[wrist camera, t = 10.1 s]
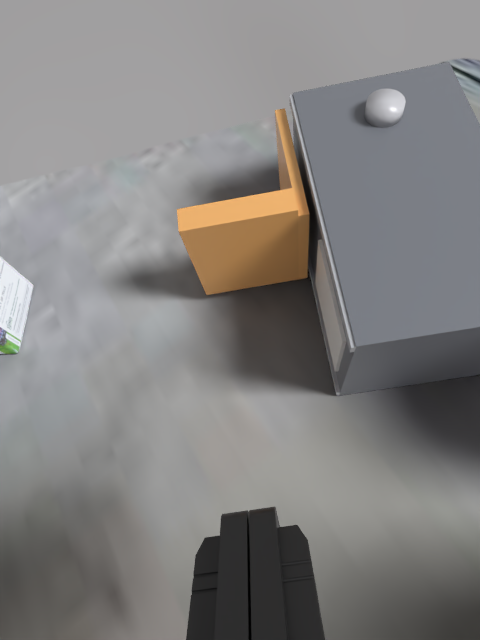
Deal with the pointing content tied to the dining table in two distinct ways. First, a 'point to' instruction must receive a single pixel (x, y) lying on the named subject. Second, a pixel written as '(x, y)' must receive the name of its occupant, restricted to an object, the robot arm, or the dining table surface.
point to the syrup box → (13, 307)
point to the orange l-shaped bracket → (252, 230)
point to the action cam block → (393, 226)
